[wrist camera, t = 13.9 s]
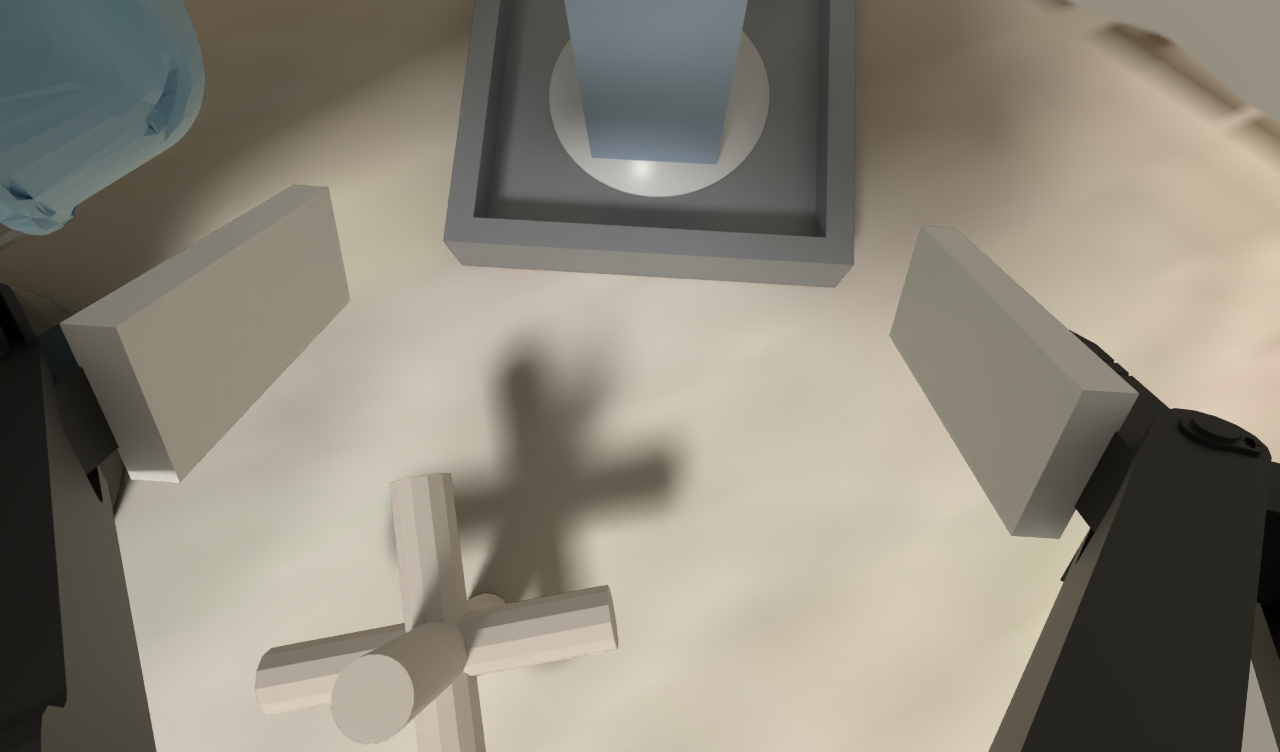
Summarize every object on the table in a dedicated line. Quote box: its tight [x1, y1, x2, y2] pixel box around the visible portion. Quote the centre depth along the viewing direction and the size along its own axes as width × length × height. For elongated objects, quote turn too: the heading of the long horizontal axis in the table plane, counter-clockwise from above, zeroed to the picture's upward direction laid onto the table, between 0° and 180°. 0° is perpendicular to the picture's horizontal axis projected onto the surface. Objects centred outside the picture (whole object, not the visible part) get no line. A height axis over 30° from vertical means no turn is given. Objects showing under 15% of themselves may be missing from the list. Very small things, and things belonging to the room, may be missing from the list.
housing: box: [443, 0, 856, 287], centre depth 27 cm, size 15×15×2 cm
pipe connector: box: [255, 473, 618, 752], centre depth 19 cm, size 10×10×10 cm
